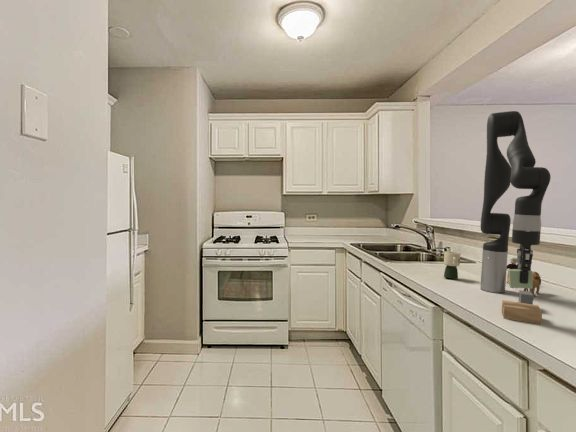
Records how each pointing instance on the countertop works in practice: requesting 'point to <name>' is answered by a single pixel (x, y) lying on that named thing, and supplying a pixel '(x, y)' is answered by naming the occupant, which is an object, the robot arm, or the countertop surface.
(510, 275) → the sage brick
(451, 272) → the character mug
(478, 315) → the countertop surface
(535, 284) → the lion figurine
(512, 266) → the grandmother figurine
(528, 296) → the charcoal brick
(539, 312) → the oak block
